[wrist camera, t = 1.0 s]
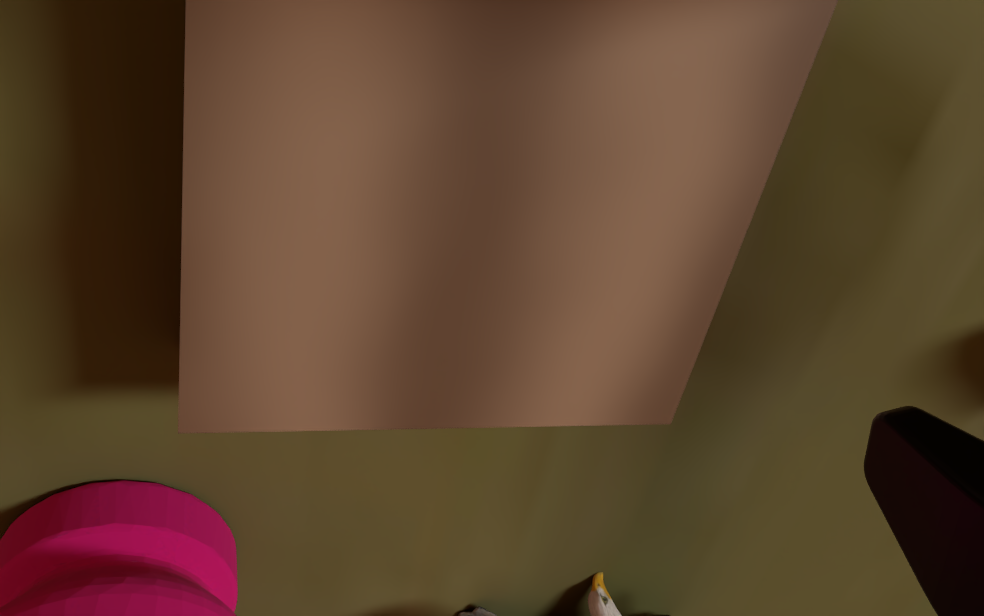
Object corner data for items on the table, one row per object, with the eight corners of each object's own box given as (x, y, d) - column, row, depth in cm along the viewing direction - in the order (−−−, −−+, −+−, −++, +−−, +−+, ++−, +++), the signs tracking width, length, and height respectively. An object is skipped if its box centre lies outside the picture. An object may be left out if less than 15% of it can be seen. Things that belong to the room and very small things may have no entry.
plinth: (782, -95, 20) (861, -59, 17) (628, 353, 26) (670, 423, 24) (191, -205, 16) (188, -177, 14) (180, 349, 22) (177, 433, 20)
